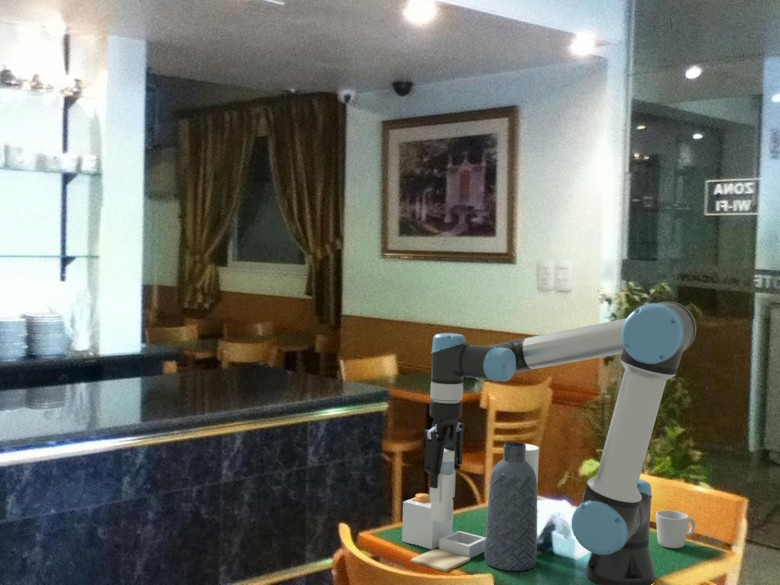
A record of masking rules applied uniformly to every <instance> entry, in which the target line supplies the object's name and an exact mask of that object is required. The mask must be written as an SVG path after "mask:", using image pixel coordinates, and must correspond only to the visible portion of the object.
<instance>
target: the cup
mask: <svg viewBox="0 0 780 585" xmlns="http://www.w3.org/2000/svg"><path fill="white" fill-rule="evenodd" d="M655 520H656V522H655V523H656V537H657V538H656V539H657V542H658V544H659V545H660V546H661V547H664V548H666V549H667V548H668V549H681V548H683V547H684V546H685V544H686V541H687V540H686V539H687V537H689V536H692V535H693V534H694V533H695V530H696V522H695V520H694V518H691V517H690V516H689V515H688V514H687V513H685V512H682V511H678V510H670V509H669V510H668V509H667V510H666V509H664V510H658V511H657V512H656V513H655ZM689 522H690V526H689ZM689 527H690V528H689ZM688 528H689V530H688Z"/></svg>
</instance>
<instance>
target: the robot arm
mask: <svg viewBox="0 0 780 585" xmlns="http://www.w3.org/2000/svg"><path fill="white" fill-rule="evenodd" d="M696 323H697V322H696V319H695V317H694V316H693V314H692V312H691V311H690V310H689V309H688V308H687V307H685V305H682V304H681V303H679V302H675V301H668V300H667V301H659V302H650V303H647V304H646V303H645V304H643V305H641V306H638V307H637V308H636V309H634V310H633V311H632V312H631V313H629V315H628V316H627V317H626V318H621V319H617V320H611V321H605V322H602V323H601V322H600V323H595V324H591V325H587V326H581V327H577V328H576V327H575V328H570V329H566V330H560V331H555V332H550V333H545V334H541V335H535V336H529V337H525V338H519V339H511V340H507V341H504V342H501V343H496V344H490V345H476V344H468V343H466V338H465V335H463V334H461V333H452V332H451V333H449V332H442V333H441V332H440V333H436V334H435V335H434V336H433V338H432V344H431V345H432V346H431V352H430V354H431V370H430V371H431V374H430V376H431V377H430V392H429V393H430V396H429V397H430V398H431V400H430V401H429V413H428V414H429V416H430V417H431V418H432V419H433V421H432V424H431V428H430V429H424V436H425V437H424V438H425V445H424V446H425V447H424V467H423V470H424V472H426V473H427V474H429V495H430V501H435V502H439V503H440V502H441V490H442V474H440V469H441V464H442V458H443V453H444V449H449V450H454V451H455V455H454V479H453V498H455V496H456V495H455V494H456V478H457V477H456V476H457V470H461V468H462V467H461V465H462V464H463V448H464V447H463V444H464V431H465V423H463V422H459V421H458V419H461V417H463V416H462V415H463V403H462V400H463V397H464V396H463V394H464V391H463V390H464V378H471V379H472V378H473V379H479V380H488V381H492V382H508V381H510V380H511V379H512V377H513V376H514V375H515V373H520V372H526V371H531V370H534V369H535V370H537V369H541V368H547V367H553V366H558V365H565V364H570V363H575V362H582V361H587V360H589V361H590V360H592V359H593V360H594V359H601V358H603V357H605V358H606V357H610V356H611V357H612V356H616V355H620V358H619V361H620V363H621V364H622V367H623V368H624V372H623V376H622V380H621V384H620V386H619V390H618V394H617V399H616V402H615V404H614V405H615V406H614V409H613V413H612V416H611V419H610V424H609V428H608V431H607V435H606V439H605V443H604V447H603V451H602V453H601V458H600V461H599V466H598V469H597V472H596V475H594V476H593V477H590V478H589V479H588V480H587V481H586V482H587V483H586V486H585V489H584V491H583V492H584V493H583V496H582V500H581V502H580V504H579V505H577V507H576V508H575V510H574V512H573V514H572V517H571V529H572V533H573V536H574V537H575V539H576V541H577V542H578V544H580V545H581V547H582V548H584V549H585V550H586V551H587V552H590V556H589V559H588V562H587V564H586V577H587V578H588V579H589V580H590V581H591V582H593V583H595V584H598V585H651V584H653V583H654V582H655V583H656V570H655V567H654V562H653V559H652V555H651V553H650V552H651V551H650V529H651V526H650V524H651V510H652V509H651V507H652V498H653V494H652V486H651V484H650V483H649V481H647V480H643V479H640V477H641V474H642V470H643V467H644V463H645V460H646V459H645V458H646V456H647V451H648V448H649V444H650V441H651V438H652V434H653V429H654V427H655V423H656V421H657V420H656V419H657V415H658V412H659V408H660V406H661V401H662V399H663V394H664V391H665V387H666V384H667V381H668V380H670V379H672V378H673V377H675V376H676V375H677V372H678V369H679V365H680V362H681V359H682V355H683V352H685V351H686V350H687V349H688V348H690V346H691V345H692V344H693V342H694V340H695V337H696V333H697V324H696Z"/></svg>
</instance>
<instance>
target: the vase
mask: <svg viewBox="0 0 780 585" xmlns="http://www.w3.org/2000/svg"><path fill="white" fill-rule="evenodd" d="M525 444H526V443H523V442H517V441H515V442H514V441H508V442H504V443H503V452H502V453H503V454H502V456H503V457H502V459H501V460H500V461H498V462H497V463H496V464H495V465H494V467H493V468H492V472H491V474H490V478H489V488H488V500H487V511H486V512H487V515H486V516H487V517H486V524H485V525H486V526H485V527H486V529H485V537H486V539H485V552H484V561H485V563H486V564H487V565H488V566H490V567H491V568H494V569H497V570H502V571H509V572H510V571H511V572H522V571H526V570H527V571H528V570H531V569H533V568H535V566H536V564H537V555H538V546H537V545H538V483H537V479H536V474H535V471H534V469H533V468H532V466H531V465H530V464H529V463H528V462H527V461H526V460H525V457H526V445H525Z"/></svg>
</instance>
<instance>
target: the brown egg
mask: <svg viewBox="0 0 780 585" xmlns="http://www.w3.org/2000/svg"><path fill="white" fill-rule="evenodd" d="M414 498H415V501H416V502H420V503H424V504H425V503H428V502H430V493H429V494H428V493H424V492H423V493H421V492H420V493H416V494H415V497H414Z"/></svg>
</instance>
